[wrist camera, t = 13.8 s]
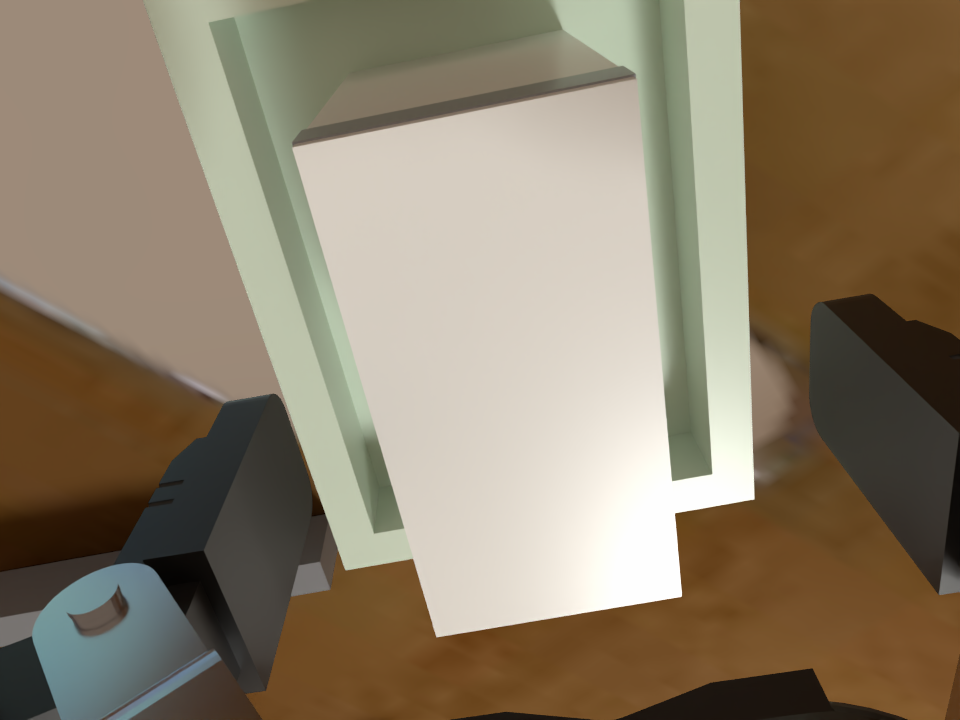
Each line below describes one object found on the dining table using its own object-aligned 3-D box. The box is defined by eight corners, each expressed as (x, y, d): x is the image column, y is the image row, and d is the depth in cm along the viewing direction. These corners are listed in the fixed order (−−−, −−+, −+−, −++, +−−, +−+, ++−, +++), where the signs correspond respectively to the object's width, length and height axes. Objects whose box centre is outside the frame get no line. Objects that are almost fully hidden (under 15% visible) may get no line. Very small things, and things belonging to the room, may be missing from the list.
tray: (692, -142, 15) (734, -158, 13) (722, 443, 22) (754, 499, 20) (176, -30, 16) (132, -28, 14) (355, 508, 22) (345, 570, 20)
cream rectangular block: (564, 27, 16) (639, 75, 10) (610, 399, 20) (684, 597, 14) (348, 71, 16) (288, 145, 10) (437, 430, 21) (435, 638, 14)
